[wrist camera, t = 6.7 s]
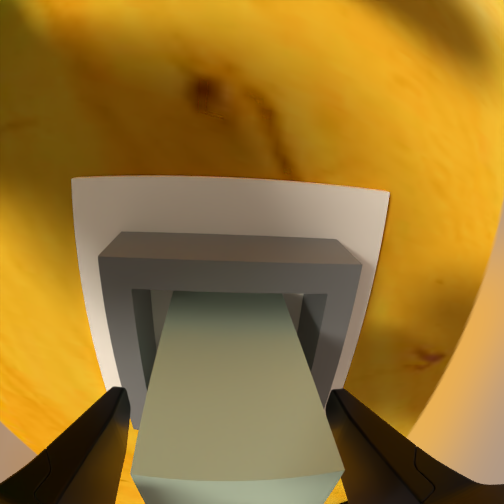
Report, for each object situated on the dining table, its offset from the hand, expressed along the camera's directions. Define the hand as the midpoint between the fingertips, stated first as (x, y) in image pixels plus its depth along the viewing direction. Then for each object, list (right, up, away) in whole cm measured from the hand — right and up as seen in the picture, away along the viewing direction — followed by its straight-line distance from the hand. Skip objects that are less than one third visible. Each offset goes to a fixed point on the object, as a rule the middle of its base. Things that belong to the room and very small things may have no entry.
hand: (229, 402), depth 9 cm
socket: (0, +2, +4) cm, 4 cm away
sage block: (0, +1, +4) cm, 4 cm away
